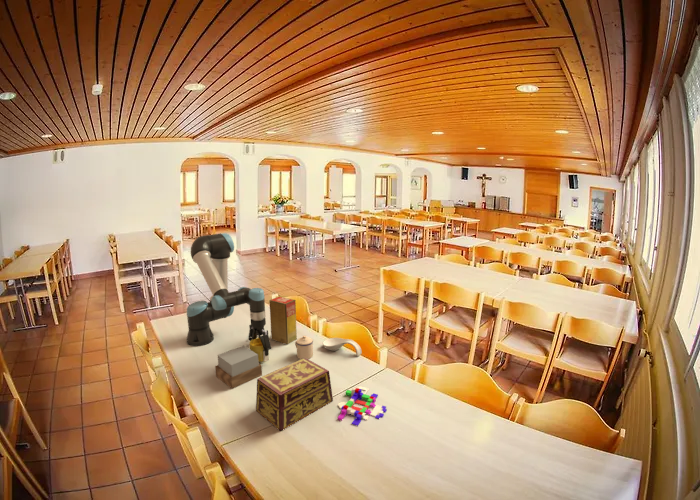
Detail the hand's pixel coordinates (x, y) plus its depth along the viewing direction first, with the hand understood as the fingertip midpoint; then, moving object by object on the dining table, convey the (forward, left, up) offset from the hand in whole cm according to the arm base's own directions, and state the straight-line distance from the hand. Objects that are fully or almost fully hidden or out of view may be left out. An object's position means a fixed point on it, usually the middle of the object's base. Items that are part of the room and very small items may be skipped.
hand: (260, 357), depth 196 cm
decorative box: (+44, -11, -3) cm, 45 cm away
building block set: (+65, +8, -3) cm, 66 cm away
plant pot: (0, 0, -1) cm, 1 cm away
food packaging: (-13, +25, -3) cm, 28 cm away
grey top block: (+5, -15, +3) cm, 16 cm away
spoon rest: (+23, +38, -3) cm, 45 cm away
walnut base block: (+4, -15, -3) cm, 16 cm away
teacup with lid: (+11, +20, -3) cm, 23 cm away
